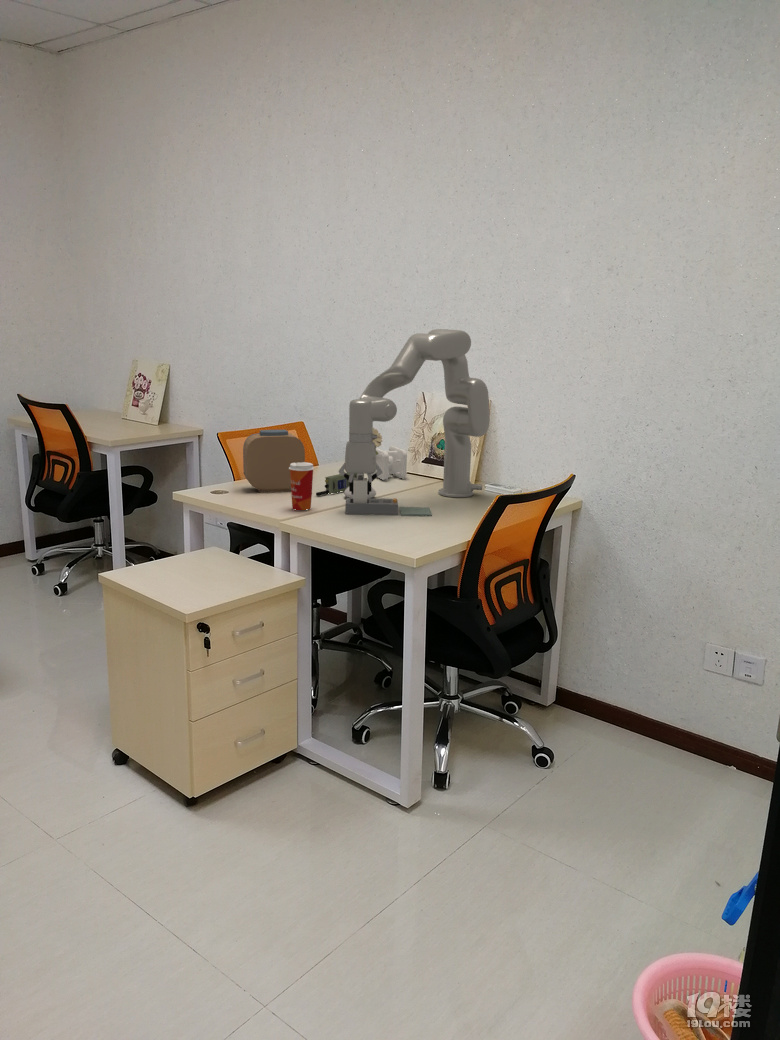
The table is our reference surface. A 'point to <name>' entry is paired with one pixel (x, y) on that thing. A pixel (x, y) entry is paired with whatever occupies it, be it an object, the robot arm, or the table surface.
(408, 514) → the mat
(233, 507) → the table surface
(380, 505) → the power strip
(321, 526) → the table surface
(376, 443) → the flower in vase
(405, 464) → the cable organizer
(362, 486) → the block
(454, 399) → the robot arm
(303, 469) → the coffee cup
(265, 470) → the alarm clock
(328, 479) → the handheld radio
